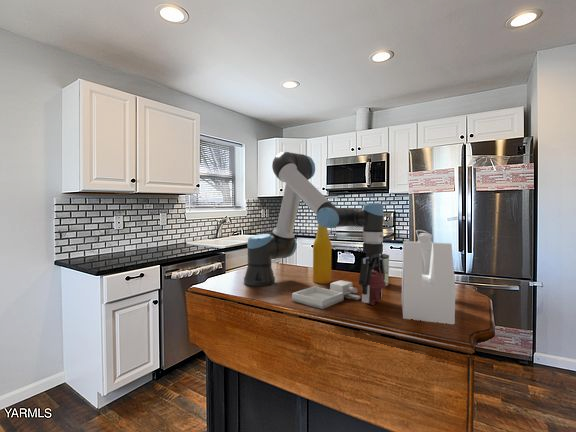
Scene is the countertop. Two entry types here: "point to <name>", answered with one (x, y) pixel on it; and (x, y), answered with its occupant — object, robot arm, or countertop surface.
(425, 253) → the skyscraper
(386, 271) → the coffee can
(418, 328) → the countertop surface
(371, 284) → the mechanical component
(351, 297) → the track
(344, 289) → the block
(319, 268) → the beer bottle
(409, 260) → the white notched block
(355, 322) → the countertop surface
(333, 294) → the tray
